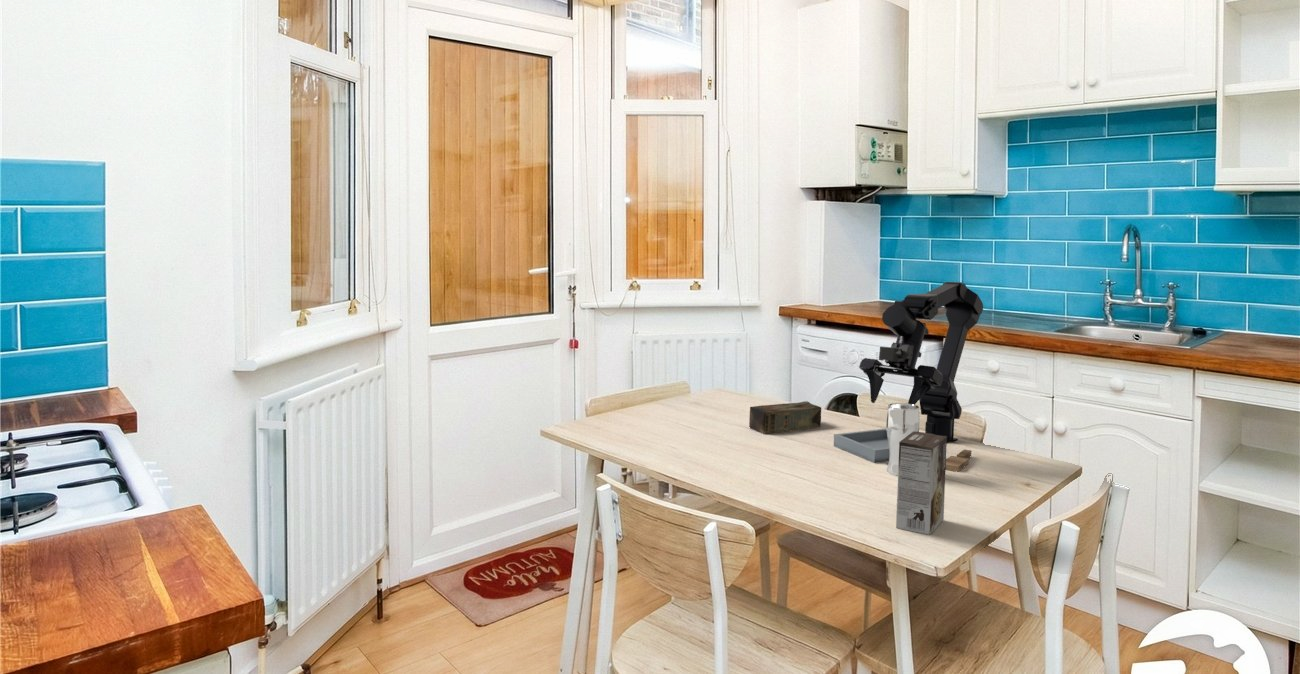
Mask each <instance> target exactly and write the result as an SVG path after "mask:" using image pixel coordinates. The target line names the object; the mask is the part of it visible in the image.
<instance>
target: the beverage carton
mask: <svg viewBox="0 0 1300 674" xmlns="http://www.w3.org/2000/svg"><path fill="white" fill-rule="evenodd" d="M821 422H822V406H819V405H816V404H814V403H810V401H808V400H805V401H801V402H789V403H778V404H775V403H774V404H766V405H765V404H763V405H754V406H750V407H749V421H748V423H749V425H748V426H749V427H750V428H749V427H748V428H749V429H751V428H752V430H754V431H756V432H758V433H760V432H761V433H760V434H762V433H763V435H764V434H765V433H767V434H774V433H773V432H775V433H782V431H784V432H791V431H790V430H792V431H799V430H800V429H801V430H808V428H809V429H813V428H814V429H816V428H821V424H822V423H821ZM798 429H799V430H798ZM801 430H800V431H801Z"/></svg>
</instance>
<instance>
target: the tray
mask: <svg viewBox="0 0 1300 674" xmlns="http://www.w3.org/2000/svg"><path fill="white" fill-rule="evenodd" d="M833 447H835V448H837V449H839V450H842V451H844V452H846V453H849V454H851V455H854V456H857V457H860V458H862V459H864V460H866V461H868V462H871V463H873V464H877V463H885V462H888V461H889V447H888V440H887V431H886V428H879V429H869V430H862V431H861V430H859V431H852V432H851V431H849V432H843V433H833Z"/></svg>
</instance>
